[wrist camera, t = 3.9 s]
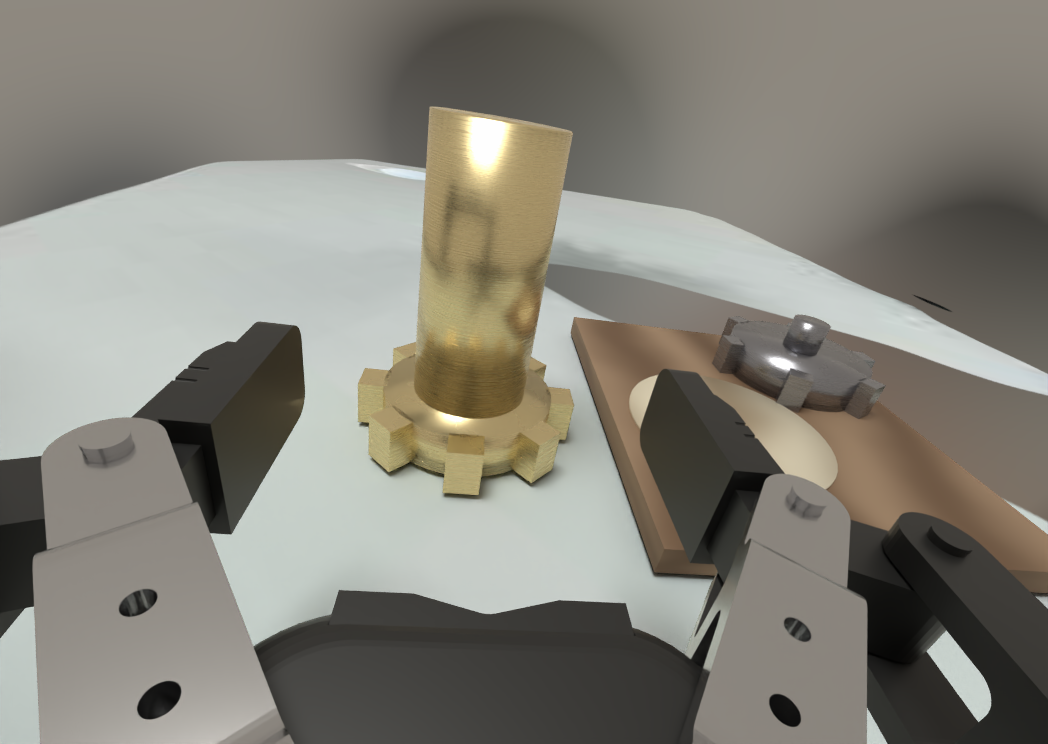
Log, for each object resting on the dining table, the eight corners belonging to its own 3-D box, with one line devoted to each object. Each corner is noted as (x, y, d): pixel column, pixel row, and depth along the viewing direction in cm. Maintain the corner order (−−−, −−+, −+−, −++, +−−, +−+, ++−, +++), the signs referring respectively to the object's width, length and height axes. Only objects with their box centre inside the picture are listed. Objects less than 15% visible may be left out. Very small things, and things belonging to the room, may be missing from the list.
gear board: (654, 572, 17) (665, 545, 17) (570, 332, 35) (574, 315, 34) (1077, 594, 20) (1101, 572, 19) (801, 360, 37) (808, 344, 36)
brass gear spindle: (333, 484, 18) (317, 94, 12) (381, 363, 27) (386, 94, 21) (579, 502, 20) (678, 157, 13) (552, 381, 28) (605, 133, 22)
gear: (748, 408, 26) (777, 345, 25) (689, 337, 34) (708, 285, 32) (904, 424, 28) (942, 366, 26) (813, 352, 35) (838, 303, 34)
